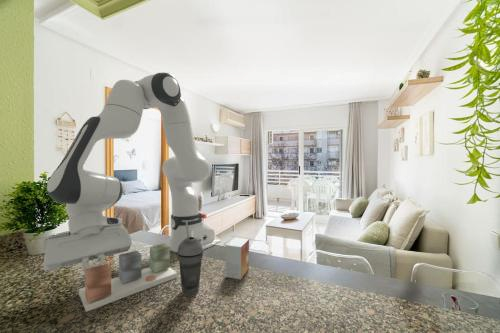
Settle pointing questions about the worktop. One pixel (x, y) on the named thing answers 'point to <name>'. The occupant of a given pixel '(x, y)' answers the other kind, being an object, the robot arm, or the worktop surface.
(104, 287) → the pink tall block
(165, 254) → the sage green block
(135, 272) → the grey tall block
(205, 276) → the worktop surface
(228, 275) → the small box
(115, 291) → the base
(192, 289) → the beverage cup
